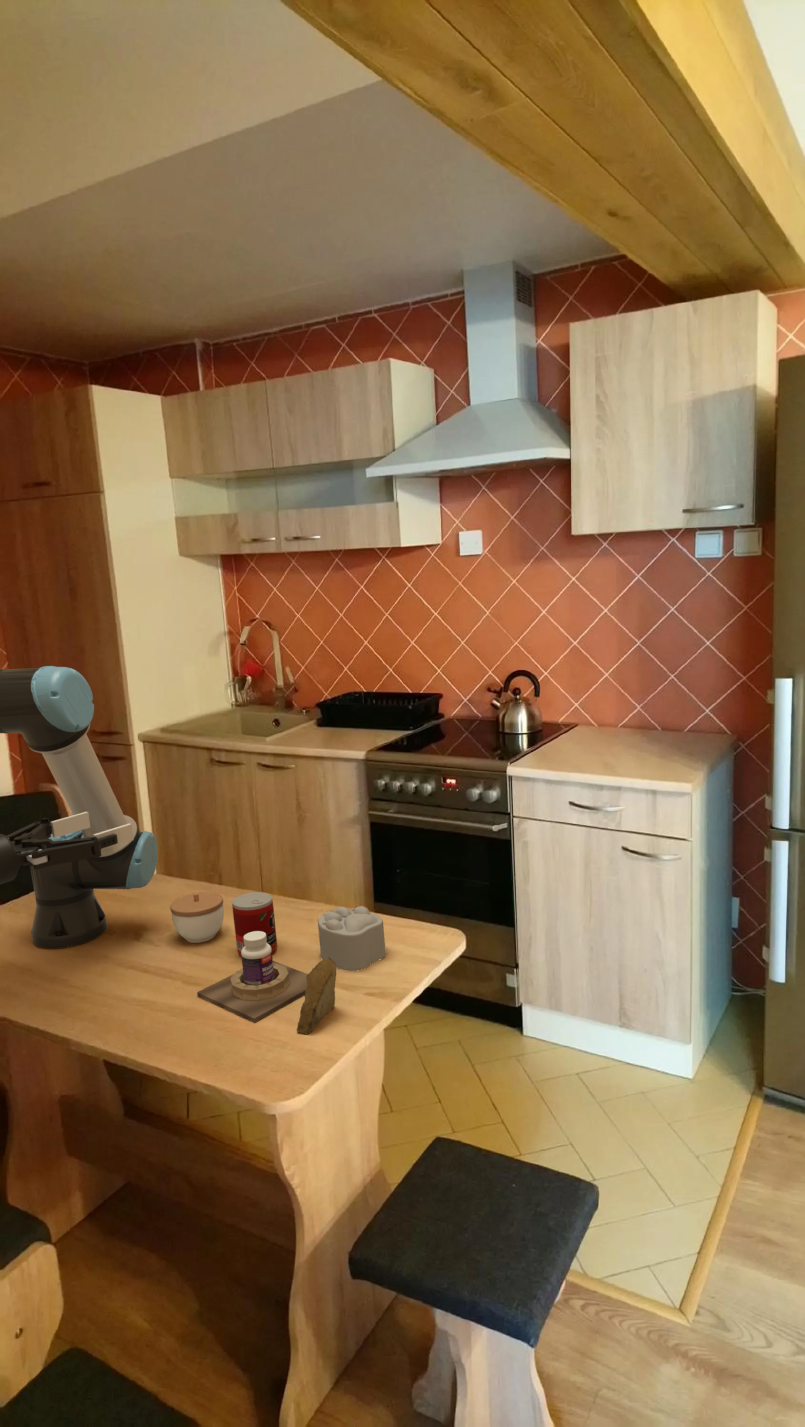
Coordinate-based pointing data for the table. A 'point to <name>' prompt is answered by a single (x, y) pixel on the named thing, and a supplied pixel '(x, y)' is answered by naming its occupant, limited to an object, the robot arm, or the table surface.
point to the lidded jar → (198, 915)
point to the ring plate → (255, 1006)
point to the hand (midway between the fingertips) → (109, 825)
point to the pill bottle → (257, 959)
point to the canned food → (254, 917)
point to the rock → (318, 995)
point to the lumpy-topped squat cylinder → (351, 937)
